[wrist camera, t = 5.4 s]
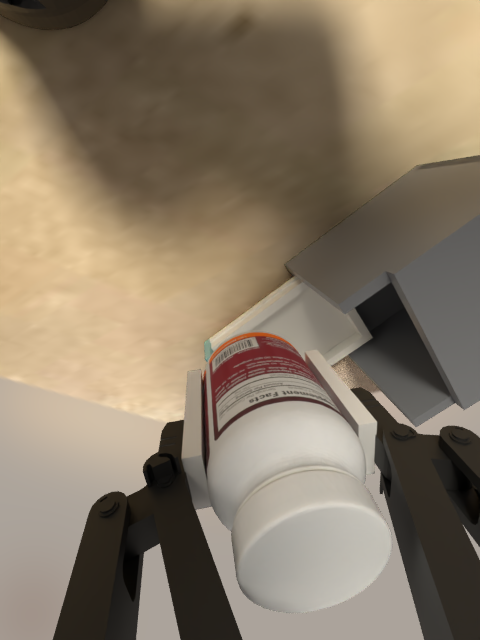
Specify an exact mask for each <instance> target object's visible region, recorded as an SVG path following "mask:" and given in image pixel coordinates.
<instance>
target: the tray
mask: <svg viewBox="0 0 480 640" xmlns="http://www.w3.org/2000/svg"><path fill="white" fill-rule="evenodd" d="M247 331H266V332H271V333H274V334H276V335H279V336H281V337H283V338H284V339H286V340H287V341H288V342H289V343H291V344H292V345H293V347H294V348H295V349H296V350H297V351H298V353H299V354H300V355H301V357H302V358H303V360H304V361H305V352H306V351H312V350H318V351H319V353H320V354H321V355H322V356H323V357H324V359H325V360H326V361H327V362H328V363H329V365H330V366H332V365H334V364H335V363H337V362H338V361H339V360H341V359H342V358H344V357H345V356H347V355H348V354H350V353H351V352H353V351H354V350H356V349H357V348H359V347H360V346H362V345H363V344H364V343H366V342H367V341H369V340H370V339H372V338H373V337H372V336H371V334H370V332H369V331H368V329H367V327H366V326H365V324H364V322H363V321H362V319H361V318H360V316H359V314H358V313H357V311H356V309H355V308H354V309H352V310H351V311H349V312H348V313H346V314H343V313H342V312H341V311H340V310H338V309H337V308H336V307H334V306H333V305H332V304H331V303H329V302H328V301H327V300H325V299H324V298H323V297H322V296H320V295H319V294H318V293H316V292H315V291H314V290H313V289H311V288H310V287H309V286H307V285H306V284H305V283H304V282H302V281H301V280H300V279H298V278H297V277H296V276H294V277H292V278H291V279H290V280H288V281H287V282H285V283H284V284H283V285H281V286H280V287H279V288H277V289H276V290H275V291H273V292H272V293H271V294H269V295H268V296H266V297H265V298H264V299H262V300H261V301H260V302H258V303H257V304H256V305H254V306H253V307H252V308H250V309H249V310H248V311H246V312H245V313H243V314H242V315H241V316H239V317H238V318H237V319H235V320H234V321H233V322H231V323H230V324H229V325H227V326H226V327H224V328H223V329H222V330H220V331H219V332H218V333H216V334H215V335H214V336H212V337H211V338H210V339H208V340H207V341H205V342H204V347H205V360H206V361H207V362H208V359H209V358H210V356H211V354H212V353H213V352H214V350H215V349H216V348H217V347H218V346H219V345H220V344H221V343H222V342H224V341H225V340H227V339H228V338H230V337H232V336H234V335H237V334H239V333H243V332H247Z"/></svg>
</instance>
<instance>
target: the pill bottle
mask: <svg viewBox="0 0 480 640" xmlns="http://www.w3.org/2000/svg"><path fill="white" fill-rule="evenodd" d="M203 390H204V420H205V449H206V477H207V488H208V494H209V498H210V502H211V505H212V507H213V509H214V512H215V513H216V515H217V516H218V518H219V519H220V521H221V522H222V523H223V524H224V525H225V526H226V527H227V528H228V529H229V530H230V531H231V532H232V533H231V536H232V546H233V553H234V562H235V569H236V577H237V581H238V584H239V586H240V589H241V590H242V592H243V593H244V594H245V596H246V597H247V598H248V599H249V600H251V601H252V602H254V603H255V604H257V605H259V606H261V607H263V608H266V609H269V610H273V611H278V612H285V613H304V612H312V611H316V610H321V609H325V608H329V607H332V606H335V605H337V604H340V603H342V602H345V601H347V600H348V599H350V598H352V597H353V596H355V595H357V594H358V593H360V592H362V591H363V590H364V589H366V588H367V587H368V586H369V585H370V584H371V583H372V582H374V580H375V579H376V578H377V577H378V576H379V575H380V574H381V572H382V571H383V569H384V568H385V566H386V565H387V562H388V560H389V557H390V554H391V551H392V535H391V531H390V528H389V526H388V524H387V522H386V520H385V519H384V517H383V515H382V514H381V511H380V510H379V508H378V506H377V504H376V502H375V501H374V499H373V497H372V495H371V493H370V492H369V490H368V489H367V488H366V487H365V486H364V483H365V479H366V458H365V453H364V450H363V447H362V444H361V442H360V440H359V438H358V436H357V435H356V433H355V432H354V430H353V429H352V427H351V426H350V424H349V423H348V421H347V420H346V418H345V417H344V416H343V414H342V413H341V411H340V410H339V409H338V407H337V406H336V404H335V403H334V402H333V400H332V399H331V398H330V396H329V395H328V393H327V392H326V390H325V389H324V388H323V386H322V385H321V384H320V382H319V381H318V379H317V378H316V376H315V375H314V374H313V372H312V371H311V370H310V368H309V367H308V365H307V364H306V362H305V361H304V360H303V358H302V357H301V355H300V354H299V353H298V351H297V350H296V349H295V348H294V347H293V345H292V344H291V343H289V342H288V341H287V340H286V339H284V338H283V337H281V336H279V335H276V334H274V333H271V332H266V331H247V332H243V333H239V334H237V335H234V336H232V337H230V338H228V339H227V340H225V341H224V342H222V343H221V344H220V345H219V346H218V347H217V348H216V349H215V350H214V352H213V353H212V354H211V356H210V358H209V359H208V362H207V364H206V367H205V371H204V378H203Z"/></svg>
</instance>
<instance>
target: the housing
mask: <svg viewBox="0 0 480 640" xmlns="http://www.w3.org/2000/svg"><path fill="white" fill-rule="evenodd" d="M285 266H286V267H287V269H288V270H289V272H290V273H291V275H292V276H293V277H294V276H296V277H297V278H298V279H300V280H301V281H302V282H304V283H305V284H306V285H307V286H309V287H310V288H311V289H313V290H314V291H315V292H316V293H318V294H319V295H320V296H322V297H323V298H324V299H325V300H327V301H328V302H329V303H331V304H332V305H333V306H334V307H336V308H337V309H338V310H340V311H341V312H342V313H343V314H346V313H348V312H349V311H351V310H352V309H354V308H355V309H356V311H357V313H358V314H359V316H360V318H361V319H362V321H363V322H364V324H365V326H366V327H367V329H368V331H369V332H370V334H371V336H372V337H373V338H372V339H370V340H369V341H367V342H366V343H364V344H363V345H362V346H360V347H359V348H357V349H356V350H354V351H353V352H351V353H350V354H348V355H347V356H348V357H349V358H350V359H351V360H352V361H353V362H354V363H355V364H356V365H357V366H358V367H359V368H360V369H361V370H362V371H363V372H364V374H365V375H366V376H367V377H368V378H369V379H370V380H371V381H372V382H373V383H374V384H375V385H376V386H377V387H378V388H379V389H380V390H381V391H382V392H383V393H384V394H385V395H386V396H387V398H388V399H389V400H390V401H391V402H392V403H393V404H394V405H395V406H396V407H397V408H398V409H399V410H400V411H401V412H402V413H403V414H404V415H405V416H406V417H407V418H408V419H409V420H410V421H411V423H412V424H413V425H415V427H417V426H419V425H421V424H422V423H424V422H425V421H427V420H428V419H430V418H432V417H433V416H435V415H436V414H438V413H440V412H441V411H443V410H444V409H446V408H447V407H449V406H451V405H452V404H454V403H456V404H457V405H459V406H460V407H461V408H463V409H464V410H465V409H467V408H468V407H470V406H472V405H473V404H475V403H476V402H478V401H480V155H478V156H472V157H466V158H460V159H454V160H447V161H441V162H435V163H429V164H423V165H417V166H416V167H414V168H413V169H412V170H410V171H409V172H408V173H406V174H405V175H404V176H402V177H401V178H400V179H398V180H397V181H396V182H394V183H393V184H392V185H390V186H389V187H387V188H386V189H385V190H383V191H382V192H381V193H379V194H378V195H377V196H375V197H374V198H373V199H371V200H370V201H369V202H367V203H366V204H365V205H363V206H362V207H361V208H359V209H358V210H357V211H355V212H354V213H353V214H351V215H350V216H349V217H347V218H346V219H345V220H343V221H342V222H341V223H339V224H338V225H337V226H335V227H334V228H333V229H331V230H330V231H329V232H327V233H326V234H325V235H323V236H322V237H321V238H319V239H318V240H316V241H315V242H314V243H312V244H311V245H310V246H308V247H307V248H306V249H304V250H303V251H302V252H300V253H299V254H298V255H296V256H295V257H294V258H292V259H291V260H290V261H288V262H287V263H286V264H285Z"/></svg>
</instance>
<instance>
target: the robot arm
mask: <svg viewBox="0 0 480 640" xmlns="http://www.w3.org/2000/svg"><path fill="white" fill-rule="evenodd" d="M106 2H107V0H0V14H1V15H2V16H4V17H6V18H8V19H10V20H12V21H15V22H17V23H20V24H23V25H26V26H29V27H33V28H39V29H63V28H68V27H72V26H75V25H77V24H79V23H82V22H84V21H85V20H87V19H89V18H90V17H91V16H93V15H94V14H95V13H96V12H98V11H99V10H100V9H101V8H102V6H103V5H104V4H105V3H106ZM305 362H306V364H307V365H308V367H309V368H310V370H311V371H312V372H313V374H314V375H315V376H316V378H317V379H318V381H319V382H320V384H321V385H322V386H323V388H324V389H325V390H326V392H327V393H328V395H329V396H330V398H331V399H332V400H333V402H334V403H335V404H336V406H337V407H338V409H339V410H340V411H341V413H342V414H343V416H344V417H345V418H346V420H347V421H348V423H349V424H350V426H351V427H352V429H353V430H354V432H355V433H356V435H357V436H358V438H359V440H360V442H361V444H362V447H363V450H364V453H365V458H366V475H369V474H374V473H375V464H376V465H377V466H378V468H379V469H380V471H381V477H380V494H383V491H384V494H385V498H386V501H387V505H388V509H389V513H390V516H391V520H392V523H393V527H394V531H395V534H396V538H397V541H398V545H399V549H400V553H401V556H402V560H403V564H404V567H405V571H406V574H407V578H408V582H409V585H410V589H411V593H412V596H413V600H414V604H415V607H416V611H417V614H418V618H419V622H420V625H421V629H422V633H423V636H424V640H480V560H479V558H478V556H477V554H476V551H475V549H474V547H473V545H472V543H471V541H470V539H469V537H468V535H467V533H466V531H465V529H464V527H465V528H466V529H467V531H468V532H469V533H470V535H471V536H472V537H473V539H474V540H475V541H476V543H477V544H478V545H479V547H480V438H479V437H478V436H477V435H476V434H474V433H473V432H472V431H470V430H467V429H465V428H463V427H458V426H446V427H443V428H442V429H441V430H440V435H423V434H418V433H417V432H416V431H415V430H414V429H413V428H411V427H409V426H407V425H404V424H399V423H398V422H397V421H396V420H395V419H394V418H393V417H392V416H391V415H390V414H389V413H388V411H387V410H386V409H385V408H384V407H383V406H382V405H381V404H380V403H379V402H378V401H377V400H376V399H375V398H374V396H373V395H372V394H371V393H370V392H368V391H366V390H365V389H363V388H361V387H359V388H354V389H349V387H348V386H347V385H346V384H345V383H344V381H343V380H342V379H341V378H340V377H339V375H338V374H337V373H336V372H335V371H334V369H333V368H332V367H331V366H330V365H329V363H328V362H327V361H326V360H325V359H324V357H323V356H322V355H321V354H320V353H319V351H318V350H312V351H306V352H305ZM143 473H144V476H145V480H146V483H147V485H146V486H145V487H144V488H143V489H141V490H139V491H137V492H135V493H133V494H131V495H129V496H127V497H126V496H125V494H124V493H122V492H119V491H118V492H111V493H108V494H106V495H104V496H102V497H101V498H100V499H98V500H97V501H96V503H95V504H94V505H93V506H92V508H91V510H90V512H89V515H88V518H87V522H86V525H85V529H84V532H83V536H82V540H81V543H80V546H79V550H78V553H77V557H76V560H75V564H74V567H73V571H72V575H71V578H70V581H69V585H68V588H67V592H66V596H65V599H64V603H63V606H62V609H61V613H60V617H59V620H58V624H57V627H56V631H55V634H54V637H53V640H136V633H137V622H138V611H139V600H140V588H141V578H142V566H143V556H144V552H145V551H147V550H148V549H150V548H152V547H154V546H156V545H158V544H159V543H160V545H161V550H162V555H163V559H164V564H165V569H166V573H167V578H168V583H169V588H170V592H171V597H172V602H173V606H174V611H175V615H176V620H177V625H178V630H179V634H180V639H181V640H242V637H241V634H240V632H239V629H238V626H237V623H236V621H235V618H234V615H233V612H232V610H231V607H230V604H229V601H228V599H227V596H226V593H225V590H224V588H223V585H222V582H221V579H220V577H219V574H218V571H217V568H216V566H215V563H214V560H213V557H212V554H211V552H210V549H209V547H208V543H207V541H206V538H205V535H204V532H203V530H202V527H201V524H200V521H199V519H198V516H197V514H196V511H195V510H197V509H202V508H207V507H211V506H212V505H211V502H210V498H209V494H208V488H207V477H206V449H205V420H204V390H203V379H202V373H201V369H199V370H193V371H188V374H187V388H186V401H185V415H184V420H180V421H175V422H169V423H167V424H166V426H165V427H164V429H163V430H162V434H161V441H160V447H159V451H158V452H157V453H156V454H154V455H152V456H151V457H150V458H149V459H148V460H146V462H145V464H144V466H143ZM462 524H463V525H464V527H463V525H462Z"/></svg>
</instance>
